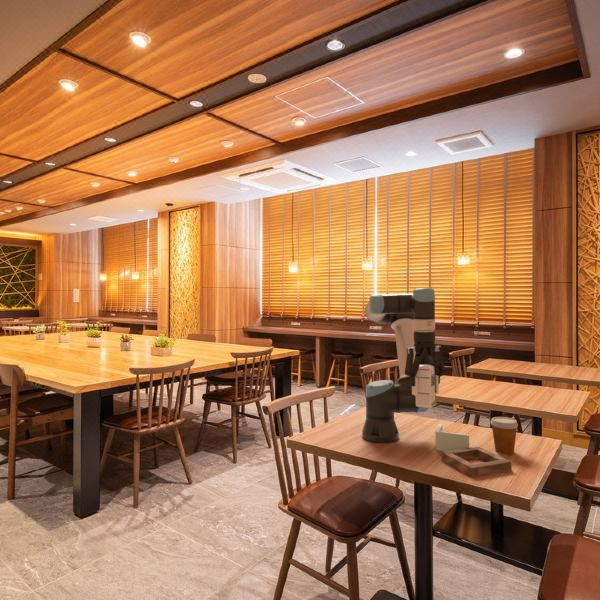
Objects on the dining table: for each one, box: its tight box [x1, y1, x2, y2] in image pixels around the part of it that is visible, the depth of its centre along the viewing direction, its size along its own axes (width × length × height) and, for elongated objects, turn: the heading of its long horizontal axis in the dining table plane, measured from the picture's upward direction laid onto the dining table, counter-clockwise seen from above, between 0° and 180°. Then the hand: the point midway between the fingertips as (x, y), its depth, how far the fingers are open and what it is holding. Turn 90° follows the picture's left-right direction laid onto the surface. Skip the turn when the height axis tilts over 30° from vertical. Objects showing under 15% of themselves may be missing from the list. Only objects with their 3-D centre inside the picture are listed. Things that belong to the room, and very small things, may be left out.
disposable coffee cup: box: [489, 416, 519, 456], centre depth 165 cm, size 10×10×12 cm
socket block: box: [441, 445, 513, 478], centre depth 152 cm, size 16×16×3 cm
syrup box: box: [416, 364, 437, 409], centre depth 158 cm, size 6×6×14 cm
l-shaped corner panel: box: [435, 423, 470, 452], centre depth 171 cm, size 12×12×8 cm
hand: (425, 393), depth 158 cm, fingers closed on syrup box, 8 cm apart
